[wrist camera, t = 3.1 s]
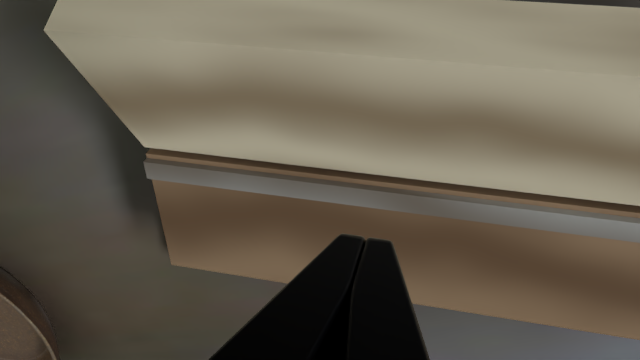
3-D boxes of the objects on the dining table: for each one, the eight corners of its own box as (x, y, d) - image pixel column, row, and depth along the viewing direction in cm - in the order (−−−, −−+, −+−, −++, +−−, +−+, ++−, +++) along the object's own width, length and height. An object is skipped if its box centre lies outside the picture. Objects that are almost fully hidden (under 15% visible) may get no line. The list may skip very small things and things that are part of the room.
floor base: (646, 321, 26) (664, 384, 23) (185, 250, 30) (156, 296, 27) (862, -141, 15) (940, -120, 12) (102, -149, 19) (42, -134, 17)
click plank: (709, 159, 19) (713, 214, 19) (159, 103, 23) (144, 147, 22) (857, 20, 13) (873, 95, 12) (69, -25, 17) (43, 30, 16)
